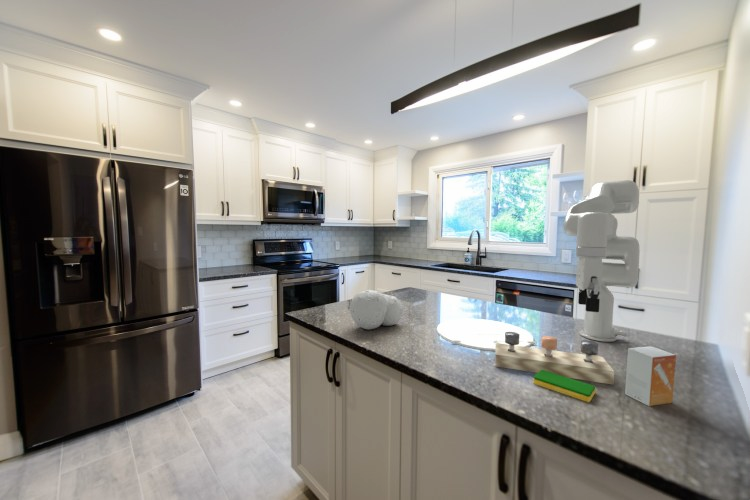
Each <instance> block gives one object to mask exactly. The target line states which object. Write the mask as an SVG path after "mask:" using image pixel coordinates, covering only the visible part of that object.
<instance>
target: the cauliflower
mask: <svg viewBox="0 0 750 500" xmlns="http://www.w3.org/2000/svg"><path fill="white" fill-rule="evenodd" d="M349 313H350V317H351V318H352V321H353V322H354V323H355V324H356V325H357V326H358V327H360V328H362V329H364V330H374V329H377V328H379V327H380V326H381V325H382V326H386V327H388V326H393V325H396V324H397V323H399V321H401V319H402V317H403V313H404V308H403V305H402V302H401V300H400V299H399V298H398V297H396V296H395V295H389V294H386V293H382V292H379V291H377V290H373V289H367V290H362V291H360V292H358V293H356V294H355V295H354V296H353V298H352V300H351V302H350V307H349Z"/></svg>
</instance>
